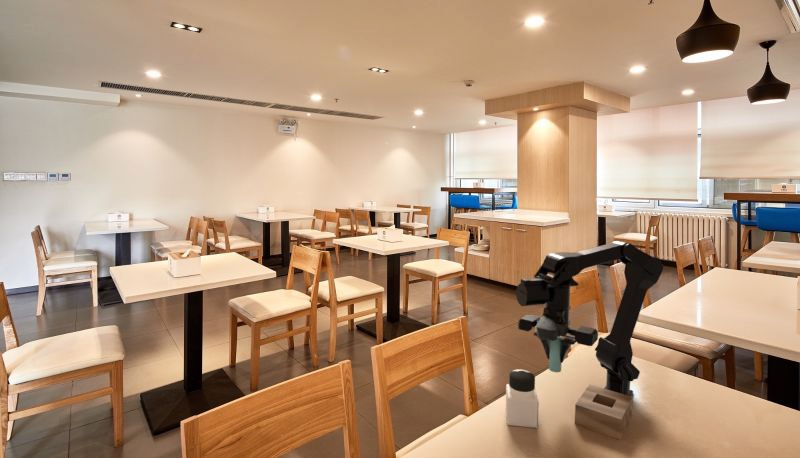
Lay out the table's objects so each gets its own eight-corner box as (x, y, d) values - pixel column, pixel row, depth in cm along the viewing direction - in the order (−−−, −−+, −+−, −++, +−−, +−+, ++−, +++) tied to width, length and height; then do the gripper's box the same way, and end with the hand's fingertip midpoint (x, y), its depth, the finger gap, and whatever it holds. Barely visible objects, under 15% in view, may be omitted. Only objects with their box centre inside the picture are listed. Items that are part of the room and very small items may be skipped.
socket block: (588, 401, 108) (589, 384, 107) (631, 415, 101) (632, 396, 101) (574, 423, 99) (575, 404, 98) (620, 439, 92) (621, 419, 92)
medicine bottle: (538, 428, 97) (539, 381, 95) (507, 425, 98) (508, 379, 97) (534, 411, 104) (535, 367, 102) (505, 409, 105) (506, 365, 104)
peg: (551, 365, 108) (552, 333, 107) (562, 369, 107) (564, 336, 105) (547, 370, 106) (548, 337, 105) (558, 373, 104) (560, 340, 103)
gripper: (509, 303, 104) (508, 361, 106) (586, 319, 92) (583, 384, 94) (527, 293, 112) (525, 347, 114) (599, 306, 100) (596, 366, 102)
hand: (555, 360), depth 106 cm, fingers closed on peg, 3 cm apart
